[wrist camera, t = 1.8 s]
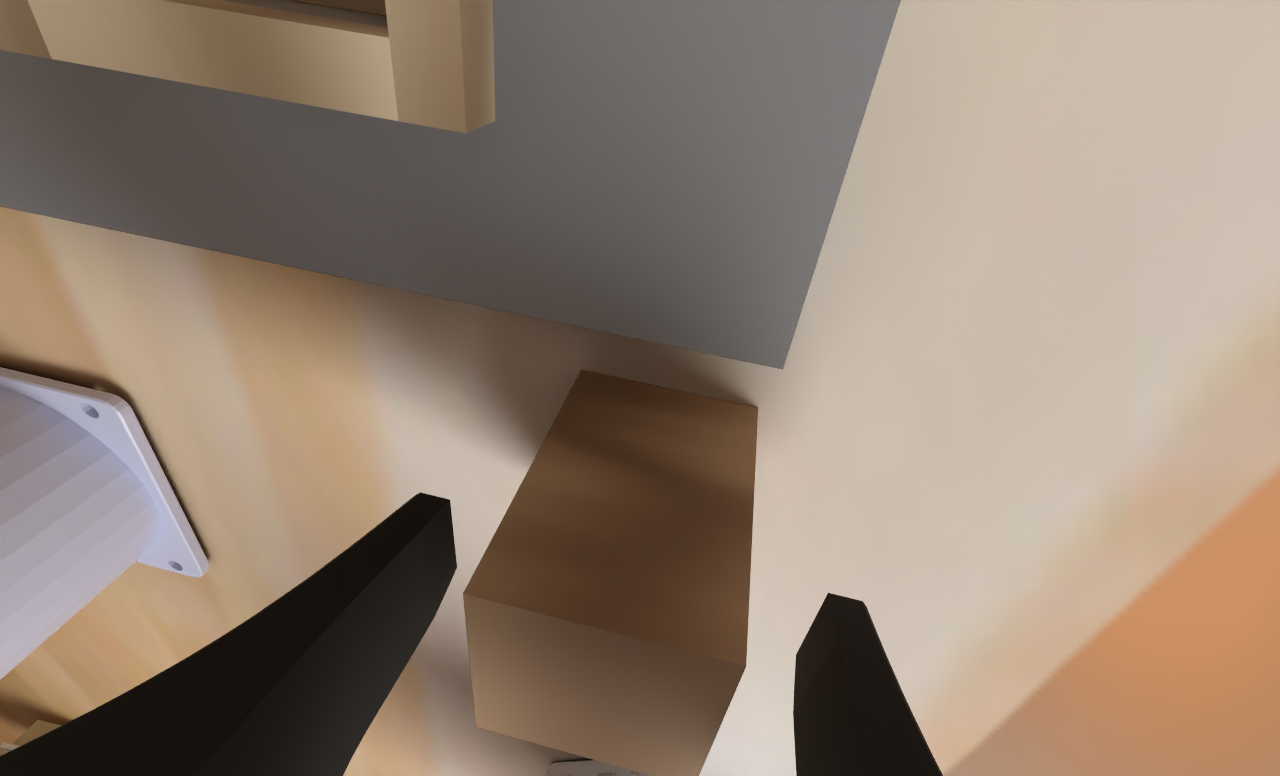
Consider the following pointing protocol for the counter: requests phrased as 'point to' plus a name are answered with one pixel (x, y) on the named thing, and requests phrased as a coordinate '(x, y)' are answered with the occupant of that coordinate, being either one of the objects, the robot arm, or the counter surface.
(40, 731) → the cream layered block
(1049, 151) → the counter surface
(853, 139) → the plate
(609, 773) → the coffee box
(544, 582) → the walnut block
